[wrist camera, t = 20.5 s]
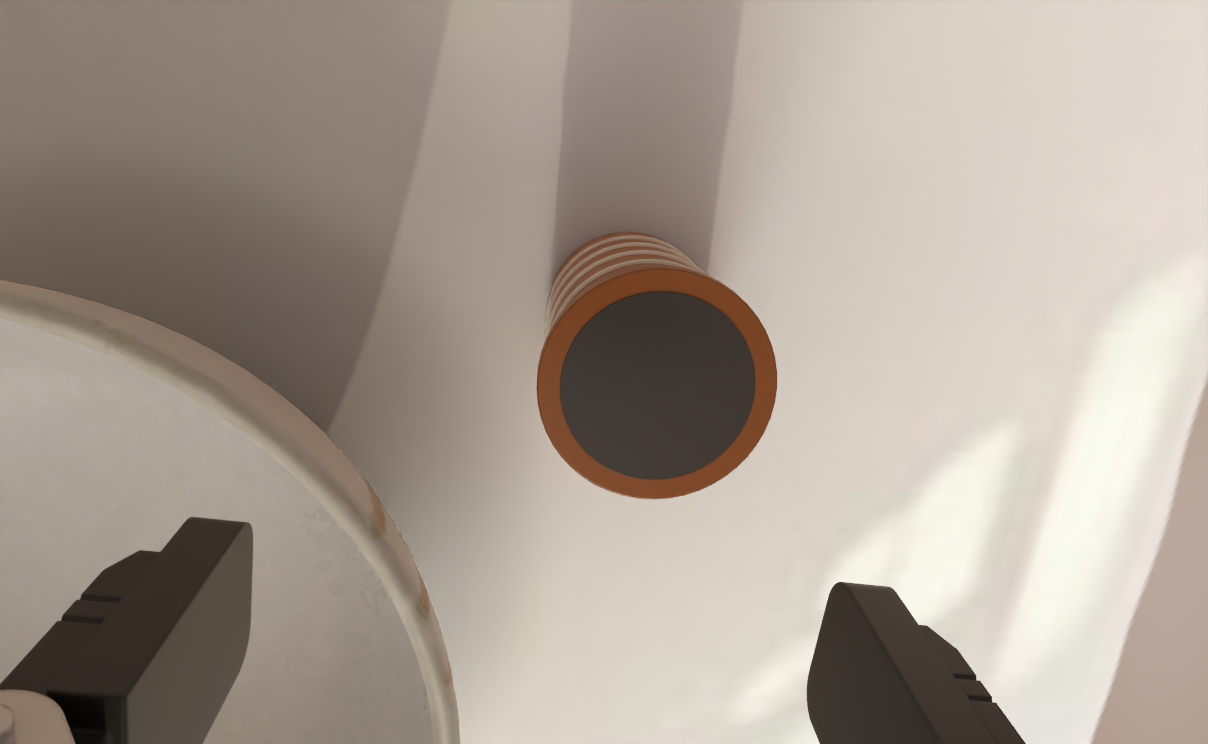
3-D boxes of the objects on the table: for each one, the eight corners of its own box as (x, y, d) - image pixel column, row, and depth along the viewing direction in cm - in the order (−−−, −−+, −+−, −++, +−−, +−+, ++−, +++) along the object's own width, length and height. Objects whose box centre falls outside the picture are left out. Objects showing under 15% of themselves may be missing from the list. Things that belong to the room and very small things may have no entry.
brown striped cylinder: (725, 237, 32) (695, 401, 34) (552, 211, 32) (529, 380, 33) (800, 286, 23) (752, 512, 24) (553, 252, 22) (522, 486, 24)
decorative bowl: (623, 478, 35) (657, 669, 24) (266, 907, 41) (153, 1228, 29) (-18, 37, 29) (-393, 4, 18) (-334, 613, 35) (-774, 874, 23)
